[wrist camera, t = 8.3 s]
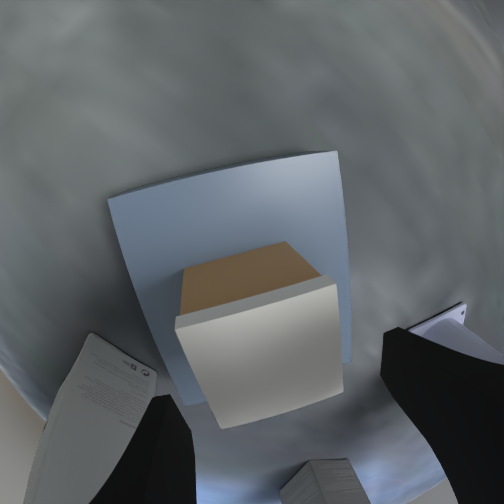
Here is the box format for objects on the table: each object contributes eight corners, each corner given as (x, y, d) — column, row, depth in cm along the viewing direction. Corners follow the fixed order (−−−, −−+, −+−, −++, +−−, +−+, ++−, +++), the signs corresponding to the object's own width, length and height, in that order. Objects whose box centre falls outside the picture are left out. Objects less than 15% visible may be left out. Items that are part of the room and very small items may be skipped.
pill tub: (302, 326, 16) (343, 392, 11) (211, 352, 15) (221, 429, 10) (287, 238, 14) (336, 283, 9) (181, 266, 14) (174, 329, 9)
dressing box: (328, 330, 21) (351, 361, 18) (185, 367, 20) (185, 406, 16) (308, 151, 17) (336, 150, 13) (126, 190, 16) (107, 199, 12)
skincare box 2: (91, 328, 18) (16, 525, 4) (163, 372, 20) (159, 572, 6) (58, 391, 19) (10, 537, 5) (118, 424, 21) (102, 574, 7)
